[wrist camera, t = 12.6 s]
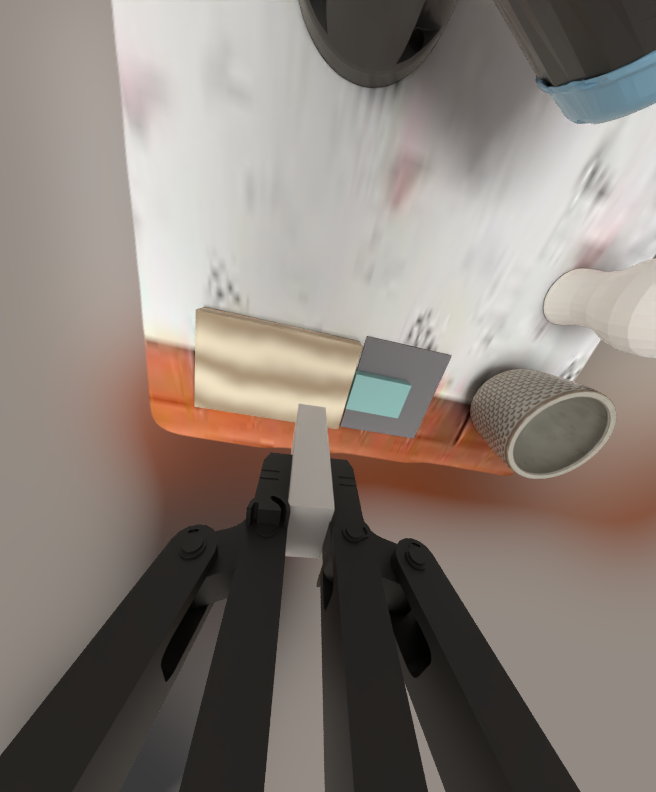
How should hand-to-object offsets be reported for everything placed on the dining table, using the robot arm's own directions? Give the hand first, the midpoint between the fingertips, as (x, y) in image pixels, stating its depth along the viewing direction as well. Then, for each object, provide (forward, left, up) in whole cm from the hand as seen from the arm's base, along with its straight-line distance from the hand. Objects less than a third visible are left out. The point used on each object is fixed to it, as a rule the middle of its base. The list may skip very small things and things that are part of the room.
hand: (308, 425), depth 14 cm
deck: (+7, -3, -25) cm, 26 cm away
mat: (+7, +16, -25) cm, 30 cm away
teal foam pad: (+7, +13, -25) cm, 28 cm away
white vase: (-13, +37, -25) cm, 46 cm away
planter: (+4, +34, -25) cm, 42 cm away
